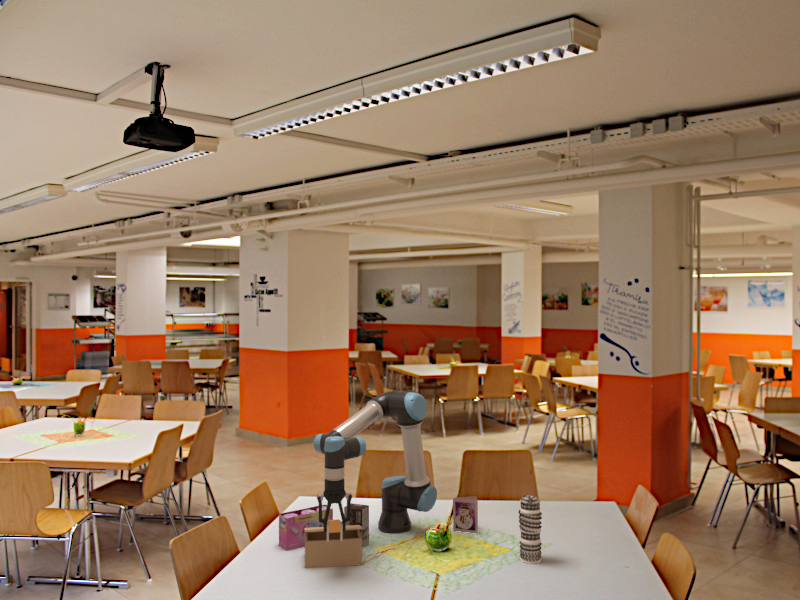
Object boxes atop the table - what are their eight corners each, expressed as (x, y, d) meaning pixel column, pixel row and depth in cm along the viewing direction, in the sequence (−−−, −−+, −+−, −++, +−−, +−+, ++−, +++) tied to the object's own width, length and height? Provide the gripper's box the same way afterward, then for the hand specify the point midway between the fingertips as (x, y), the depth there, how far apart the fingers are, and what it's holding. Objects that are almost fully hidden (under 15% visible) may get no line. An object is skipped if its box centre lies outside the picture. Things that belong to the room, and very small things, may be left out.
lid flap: (359, 527, 263) (358, 516, 265) (364, 530, 239) (364, 519, 241) (304, 529, 260) (304, 519, 261) (304, 534, 236) (304, 522, 237)
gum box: (327, 534, 285) (327, 503, 285) (336, 539, 278) (336, 508, 279) (278, 545, 271) (278, 513, 271) (286, 551, 264) (286, 518, 265)
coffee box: (369, 543, 273) (369, 505, 274) (362, 548, 267) (362, 509, 268) (351, 540, 277) (351, 502, 277) (343, 544, 271) (343, 506, 272)
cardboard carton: (358, 551, 263) (358, 527, 263) (361, 564, 249) (361, 538, 250) (304, 554, 260) (304, 529, 260) (305, 567, 246) (305, 541, 246)
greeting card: (452, 531, 287) (452, 498, 288) (457, 526, 294) (457, 494, 295) (477, 534, 283) (477, 500, 284) (481, 529, 290) (481, 496, 290)
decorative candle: (528, 566, 247) (528, 501, 248) (514, 558, 256) (513, 495, 256) (547, 561, 252) (546, 498, 252) (532, 554, 260) (531, 492, 261)
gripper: (356, 474, 247) (356, 535, 246) (311, 476, 244) (311, 538, 243) (358, 479, 239) (358, 542, 239) (311, 481, 237) (311, 545, 236)
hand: (334, 540), depth 241 cm, fingers closed on lid flap, 4 cm apart
